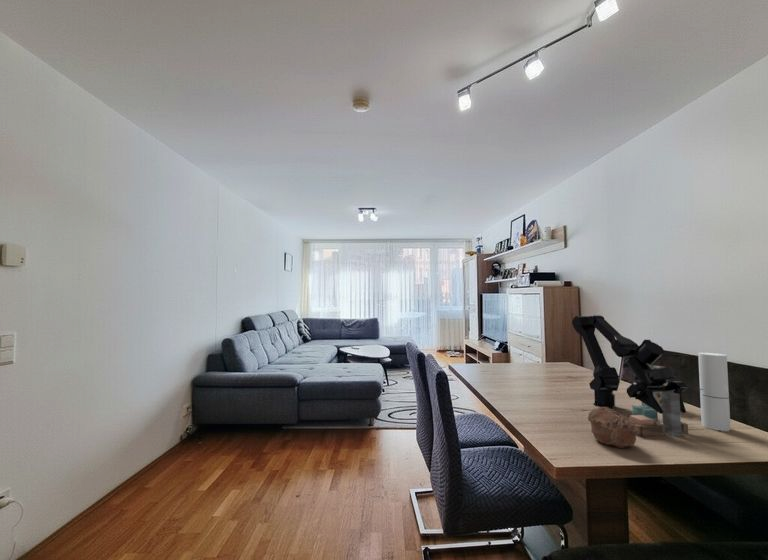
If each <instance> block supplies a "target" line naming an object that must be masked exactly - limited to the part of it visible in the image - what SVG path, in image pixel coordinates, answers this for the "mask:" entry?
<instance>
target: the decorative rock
mask: <svg viewBox="0 0 768 560" xmlns="http://www.w3.org/2000/svg"><path fill="white" fill-rule="evenodd" d="M587 416H588V417H587V420H588V421H589V423H590V425H591V429H590V430H591V433H592V434H593V437H594V439H595V440H597V441H599V442H600V444H605V445H609V446H613V447H615V448H618V449H623V448H629V447H630V448H631V447H633V446H634V445H635V443H636V441H637V436H636V435H637V433H638V432H639V430H638V428H637V427H636V425H635V423H633V422H632V421H631V420H630V418H628V417H627V416H625V414H623V413H621V412H619V411H616V410H615V409H613V408H609V407H603V406H599V407H597V408H594V409H592V410H591V411H589V413H588V415H587Z"/></svg>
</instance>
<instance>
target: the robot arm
mask: <svg viewBox="0 0 768 560" xmlns="http://www.w3.org/2000/svg"><path fill="white" fill-rule="evenodd" d="M571 323H572V324H571V325H572V326H573V328H574V330H575V332H577V334H579V335H580V336H581V337H582V339H583V343H584V345H585V347H586V349H587V352H588V355H589V357H590V359H591V362H592V364H593V367H594V369H593V373H592V375H593V379H592V380H591V381H590V382H589V387H590V389H591V390H593V391H594V392H593V393H594V402H593V405H594V406H598V407H608V408H610V409H613V408H614V407H615V405H616V394H614V392H618V389H619V387H620V386H619V385H620V383H621V380H620V375H619V374H618V371H617V369H616V368H615V366H614V367H613V366H610V365H609V364H608V362H607V360H606V357H605V355H604V353H603V350H602V348H601V345H600V343H599V341H598V339H597V336H596V334H595V333H596V330H597V331H598V332H599V333H600V334H601V335H602V336H603V337H604V338H605V339H606V340H607V341H608V342H609V343H610V347H611V350H612V351H613V352H614V354H615V356H617V357H618V358H628V359H625V360H623V365H622V367H623V368H629V369H630V370H631V372H632V373H633V375H634V376H635V377H634V378H633V379H634V381H635V382H632V383H631V384H630V385H629V386H628V387H627V388H626V394H627V395H628V397H629V398H634V399H635V400H638V401H639V402H641V403H642V402H643V403H645V404H646V405H648V406H650V407H651V408H653V409H654V410H656V411H657V413H659V414H661V415H662V413H663V410H662V408H661V407H660V405H659V404H658V402H657V401H656V399H655V398H654V396H653V392H674V393H677V394H680V413H683V414H685V413H686V412H687V410H686V408H685V403H684V400H683V397H682V393H683V392H684V391H685V390H687V389H688V386H687V385H686V384H685V382H684V381H679V380H678V381H677V380H676V381H670V382H669V383H668V381H669V380H673V379H676V377H677V376H678V371H676V369H675V368H674V367H673V366H666V367H667V368H664V369H657V370H656V369H652V368H651V367H650V366H649V365H654V363H655V362H656V361H657V360H659V358H660V357H662V355H664V353H665V350H664V348H663V346H661V345H659V344H657V343H655V342H653V341H652V340H650V339H644V340H642V342H641V344H640V345H639V344H638V343H636V342H635V341H633V340H632V339H630V338H628V337H626V336H623V335H622V334H620V332H619V331H618V330H616V328H614V326H612V325H611V324H610V323H609V322H608V321H607V320H606V319H605V317H604V316H603V315H599V314H597V315H595V314H594V315H593V314H592V315H590V316H589V315H588V316H587V315H585V316H582V315H579V316H578V315H577V316H574V317H573V318H572V320H571ZM666 382H667V384H668V385H666V386H664V385H663V384H664V383H666Z"/></svg>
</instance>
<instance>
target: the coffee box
mask: <svg viewBox="0 0 768 560" xmlns="http://www.w3.org/2000/svg"><path fill="white" fill-rule="evenodd" d="M649 366H650V367H651V368H652V369H656V370H657V369H664V368H667V367H668V366H663V365H658V364H656V365H655V364H649ZM668 384H669V383H668V381H667V382H666V383H664V384H663V385H664V386H666V385H668ZM653 396H654V398H655V399H656V401H657V402H658V404H659V405H660V407H661V408H662V392H653ZM641 406H648V405H646V404H645V403H643V402H641ZM648 407H650V406H648Z"/></svg>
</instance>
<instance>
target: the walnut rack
mask: <svg viewBox="0 0 768 560" xmlns="http://www.w3.org/2000/svg"><path fill="white" fill-rule="evenodd" d="M653 422H654V425H637V424H635V425H636V427H637V428H638V430H639V432H638V433H637V435H636V437H638V436H639V437H663V436H664V435H666V433H665V425H663V424H660V423H658V422H655V421H653ZM681 431H682V432H683V435H684V434H685V435H687V434H689V424H688V423H686V422H683V421H681Z"/></svg>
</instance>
